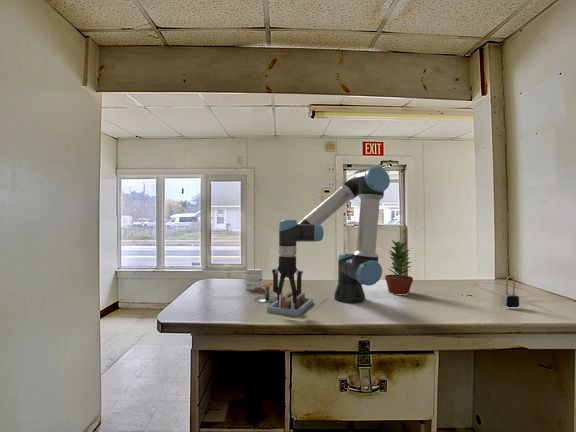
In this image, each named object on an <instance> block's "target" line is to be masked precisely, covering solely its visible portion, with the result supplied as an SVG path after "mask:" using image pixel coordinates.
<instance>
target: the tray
mask: <svg viewBox="0 0 576 432" xmlns="http://www.w3.org/2000/svg"><path fill="white" fill-rule="evenodd" d="M313 304H314V298H310V297H305V303H304V304H303V305H302V306H301V307H300V308H298V309H295V310H293V309H285V308H279V301H275V302H274V303H270V304H269V305H268V306H266V312H267V313H269V315H272V316H273V314H271V313H274V314H277V316H280V315H279V314H281V315H288V316H291V318H293V319H294V318H295V317H296V316H297V317H300V315H301V314H302V313H303V312H304V311H305V310H307V309H308V308H309V307H310V306H311V305H313ZM288 316H284V317H287V318H288ZM292 316H295V317H292Z"/></svg>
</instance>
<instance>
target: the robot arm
mask: <svg viewBox="0 0 576 432" xmlns="http://www.w3.org/2000/svg"><path fill="white" fill-rule="evenodd" d="M390 179H391V178H390V175H389V173H388V172H387V170H385V168H383V167H381V166H369V167H367V168H364V169H359V170H357V171H355V172H354V173H353V174H351V175H350V176H349V177H347V179H345V181H343V182H342V183H341V184H340V185H339V188H338V189H337V190H335V192H333V193H332V194H331V195H330V196H329V197H328V198H326V199H325V200H324V201H322V202H321V203H320V204H319V205H318V206H316V208H314V209H313V210H312V211H310V213H309V214H307V215H306V216H305V217H304V218H303V219H301V220H300V221H299V222H297V219H281V220H280V221H279V225H278V255H279V256H278V266H277V268H273V269H272V270H271V272H272V278H273V279H272V282H273V283H272V292H273V293H276V297H277V301H279V306H278V308H282V300H283V296H284V293H283V288H284V284H285V283H284V282H285V280H286V278H288V280H289V283H290V289H291V292H292V294H293V295H292V296H291V309H293V310H296V309H295V303H296V302H297V295H299V294H301V293H302V276H303V273H304V271H303V270H300V269H298V268H297V256H296V255H297V242H299V243H300V242H309V243H310V242H314V243H316V242H321V241H322V240H323V239H324V234H325V232H324V228H323V226H322V224H323V223H324V222H325V221H326V220H327V219H329V218H330V217H331V216H333V214H335V213H336V212H337V211H338V210H339V209H340V208H342V206H344V205H345V204H346V203H348V202H349V201H352V200H355V198H356V197H358V198H360V199H359V200H360V205H359V217H358V218H359V219H358V228H357V239H356V240H357V241H356V250H355V251H354V252H353V253H340V254H338V258H337V259H338V260H337V267H338V268H337V285H336V288H335V291H334V295H333V297H334V299H335V300H336V301H338V302H342V303H349V304H356V303H357V302H359V303H363V302H365V301H366V294H365V291H364V288H363V285H364V286H367V287H368V286H373V285H375V284H376V283H378V282H379V281H380V280H381V278H382V276H383V275H382V274H383V267H382V266H381V264H380V263H379V254H377V253H376V250H377V249H376V248H377V239H378V229H379V215H380V214H379V213H380V202H381V200H382V199H383V198H384V195H385V191H386V190H387V189H388V188H389V186H390V183H391V182H390V181H391V180H390ZM279 273H280V275H279ZM295 274H296V281H295ZM364 300H365V301H364ZM362 301H363V302H362ZM357 304H358V303H357Z"/></svg>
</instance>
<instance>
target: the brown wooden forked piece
mask: <svg viewBox="0 0 576 432" xmlns="http://www.w3.org/2000/svg"><path fill="white" fill-rule="evenodd" d="M292 295H293V294H292V291H290V292H288V293H287V294H285V295H283V300H282V308H285V309H291V296H292ZM305 298H306V294H305V292H304V293H302V292H301V294H299V295H297V302H296V303H295V310H297V309H298V308H300V307H301V306H302V305H303V304H305Z"/></svg>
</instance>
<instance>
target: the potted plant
mask: <svg viewBox="0 0 576 432" xmlns="http://www.w3.org/2000/svg"><path fill="white" fill-rule="evenodd" d="M391 241H392V243H393V244H394V246H391V248H392V250H393V251H392V250H390V249H388V251H389V252H390V253H389V252H388V254H389V255H390V256H389V257H390V259H391V260H392V261H391V265H392V266H391V265H390V266H389V267H390V268H391V269H390V268H388V270H389V271H390V272H392V273H393V274H386V275H385V276H384V280H385V282H386V286H387V289H388V293H389V292H390V293H393V294H392V295H394V294H407V293H410V291H411V287H412V284H413V282H414V277H412V276H409V275H404V273H405V272H409V269H408V268H412V267H413V265H412V266H411V265H409V264H411V263H412V261H408V260H410V257H407V256H409V254H410V252H409V251H410V249H407V250H406V249H404V247H405V245H406V244H407V242H401V241H400V240H398V241H394V240H393V239H391ZM407 261H408V262H407ZM407 265H408V266H407ZM392 269H393V270H392ZM390 293H389V294H390Z"/></svg>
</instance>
